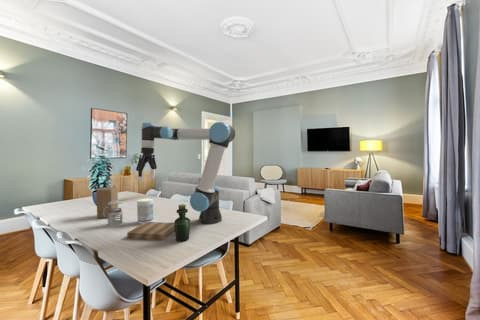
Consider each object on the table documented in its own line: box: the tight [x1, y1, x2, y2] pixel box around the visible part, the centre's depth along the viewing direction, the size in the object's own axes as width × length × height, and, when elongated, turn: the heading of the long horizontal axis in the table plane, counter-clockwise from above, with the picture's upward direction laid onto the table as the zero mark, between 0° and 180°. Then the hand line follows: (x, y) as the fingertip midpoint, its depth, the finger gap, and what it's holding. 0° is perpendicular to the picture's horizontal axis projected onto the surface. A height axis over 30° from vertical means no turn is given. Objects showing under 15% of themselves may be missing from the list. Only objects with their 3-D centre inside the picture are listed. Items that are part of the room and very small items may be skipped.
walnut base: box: [126, 221, 175, 241], centre depth 122 cm, size 20×18×3 cm
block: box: [96, 186, 119, 219], centre depth 153 cm, size 10×10×20 cm
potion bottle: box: [173, 203, 191, 243], centre depth 112 cm, size 8×8×18 cm
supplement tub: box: [136, 198, 154, 225], centre depth 140 cm, size 10×10×15 cm
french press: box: [103, 184, 125, 228], centre depth 135 cm, size 10×12×25 cm
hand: (146, 180), depth 139 cm, fingers open, 13 cm apart
